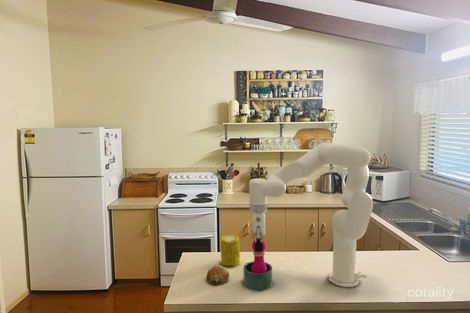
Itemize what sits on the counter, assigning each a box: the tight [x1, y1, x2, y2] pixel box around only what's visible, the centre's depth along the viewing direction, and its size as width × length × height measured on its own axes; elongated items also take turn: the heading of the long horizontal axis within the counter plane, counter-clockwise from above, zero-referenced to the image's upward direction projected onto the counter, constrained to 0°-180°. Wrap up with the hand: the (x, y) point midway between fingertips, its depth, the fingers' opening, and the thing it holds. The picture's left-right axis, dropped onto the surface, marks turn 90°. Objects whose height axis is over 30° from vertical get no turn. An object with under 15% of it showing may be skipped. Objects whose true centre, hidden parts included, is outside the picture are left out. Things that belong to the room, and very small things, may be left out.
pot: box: [242, 260, 273, 291], centre depth 140 cm, size 13×13×7 cm
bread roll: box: [206, 264, 230, 286], centre depth 143 cm, size 10×10×8 cm
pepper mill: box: [251, 240, 267, 274], centre depth 139 cm, size 7×7×20 cm
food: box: [220, 234, 241, 267], centre depth 159 cm, size 15×12×10 cm
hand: (258, 247), depth 139 cm, fingers closed on pepper mill, 6 cm apart
